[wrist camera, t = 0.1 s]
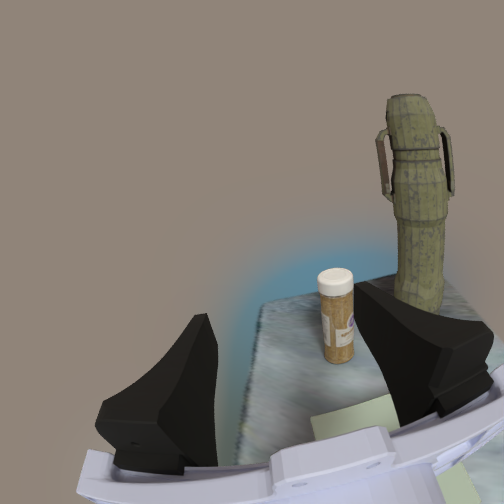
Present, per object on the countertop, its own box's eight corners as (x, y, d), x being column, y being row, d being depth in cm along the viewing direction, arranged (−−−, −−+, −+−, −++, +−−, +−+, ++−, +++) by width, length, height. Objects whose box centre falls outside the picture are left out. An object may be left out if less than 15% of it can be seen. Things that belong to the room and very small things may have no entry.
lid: (473, 507, 8) (501, 487, 6) (342, 566, 8) (348, 565, 6) (411, 392, 23) (420, 360, 22) (311, 425, 24) (307, 396, 22)
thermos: (379, 305, 46) (360, 102, 35) (435, 295, 44) (426, 100, 32) (391, 334, 38) (376, 91, 27) (453, 321, 36) (452, 93, 24)
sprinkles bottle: (352, 365, 35) (351, 282, 30) (321, 364, 37) (313, 283, 32) (355, 345, 39) (354, 265, 34) (327, 344, 41) (320, 266, 36)
